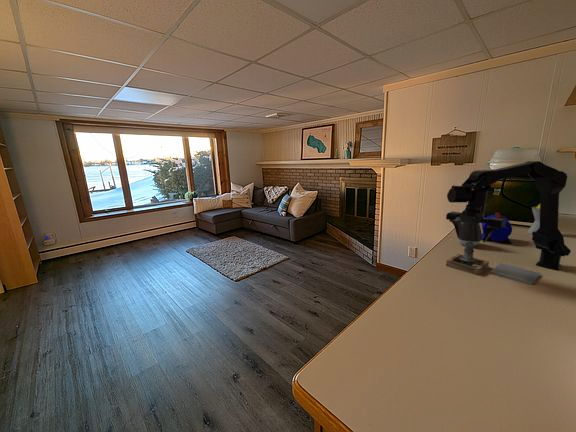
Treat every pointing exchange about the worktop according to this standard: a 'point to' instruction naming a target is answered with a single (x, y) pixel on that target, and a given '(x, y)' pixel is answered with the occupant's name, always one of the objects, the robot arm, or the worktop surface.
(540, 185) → the robot arm
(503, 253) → the worktop surface
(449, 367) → the worktop surface
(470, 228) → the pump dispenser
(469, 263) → the salt shaker
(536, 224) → the lava lamp
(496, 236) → the alarm clock
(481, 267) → the walnut holder
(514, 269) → the slate coaster
